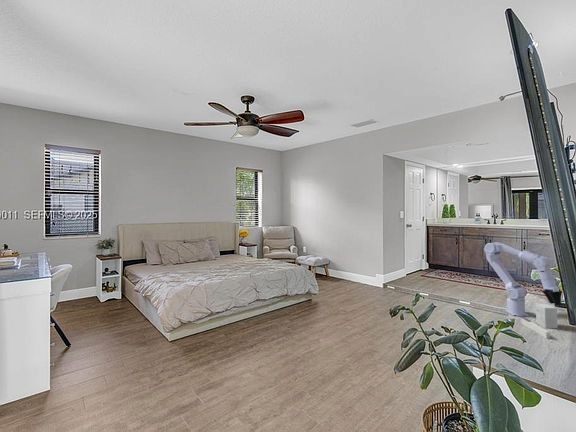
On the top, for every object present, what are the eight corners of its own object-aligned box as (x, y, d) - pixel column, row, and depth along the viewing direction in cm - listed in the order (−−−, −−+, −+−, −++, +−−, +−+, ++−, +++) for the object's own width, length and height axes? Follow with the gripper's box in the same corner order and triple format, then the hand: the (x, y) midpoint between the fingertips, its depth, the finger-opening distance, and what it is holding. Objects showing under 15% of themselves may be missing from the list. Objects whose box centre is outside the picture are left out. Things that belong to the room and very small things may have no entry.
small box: (557, 328, 155) (557, 308, 155) (545, 328, 156) (544, 308, 156) (547, 323, 163) (547, 303, 163) (536, 322, 164) (535, 303, 164)
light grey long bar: (520, 322, 165) (519, 316, 165) (523, 322, 165) (522, 316, 165) (546, 338, 144) (546, 331, 144) (550, 338, 144) (549, 331, 144)
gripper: (561, 278, 157) (570, 305, 154) (551, 277, 170) (559, 301, 167) (545, 280, 160) (554, 306, 157) (536, 278, 173) (543, 303, 170)
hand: (555, 304), depth 162 cm, fingers open, 7 cm apart
